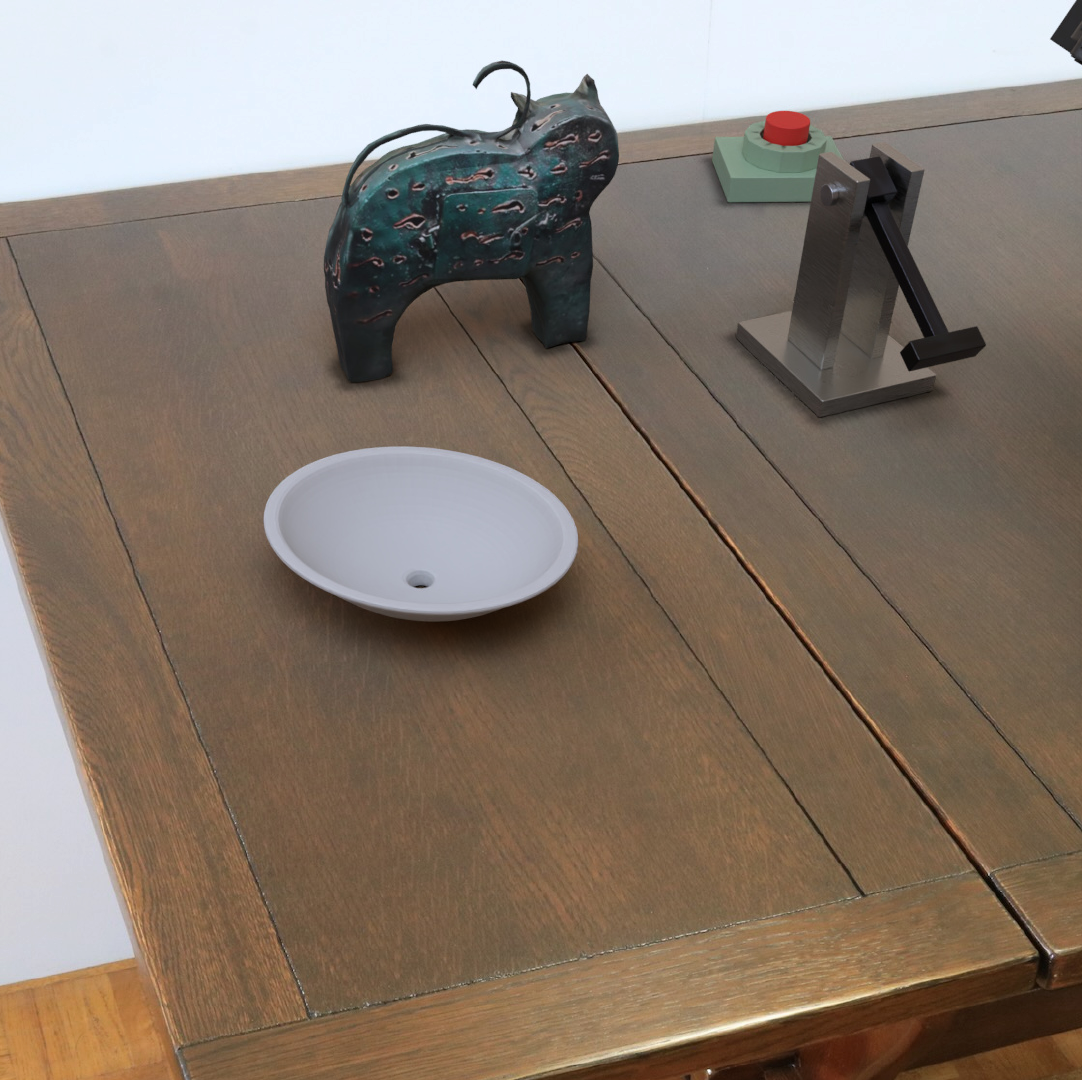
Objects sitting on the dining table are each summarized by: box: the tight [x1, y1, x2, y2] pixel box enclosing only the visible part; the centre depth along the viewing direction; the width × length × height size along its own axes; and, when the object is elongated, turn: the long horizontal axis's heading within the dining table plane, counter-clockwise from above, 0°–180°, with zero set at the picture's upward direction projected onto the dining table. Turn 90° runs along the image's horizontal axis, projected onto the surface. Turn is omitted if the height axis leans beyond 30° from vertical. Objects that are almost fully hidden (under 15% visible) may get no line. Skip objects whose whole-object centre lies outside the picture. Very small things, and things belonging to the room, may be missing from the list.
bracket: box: [735, 141, 937, 418], centre depth 101 cm, size 11×9×15 cm
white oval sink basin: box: [263, 445, 579, 622], centre depth 85 cm, size 18×14×5 cm
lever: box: [849, 156, 987, 372], centre depth 95 cm, size 14×5×2 cm
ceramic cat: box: [323, 60, 620, 383], centre depth 100 cm, size 20×6×20 cm, turn 110°
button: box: [763, 110, 811, 146], centre depth 125 cm, size 4×4×2 cm
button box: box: [711, 119, 845, 203], centre depth 126 cm, size 10×8×4 cm
